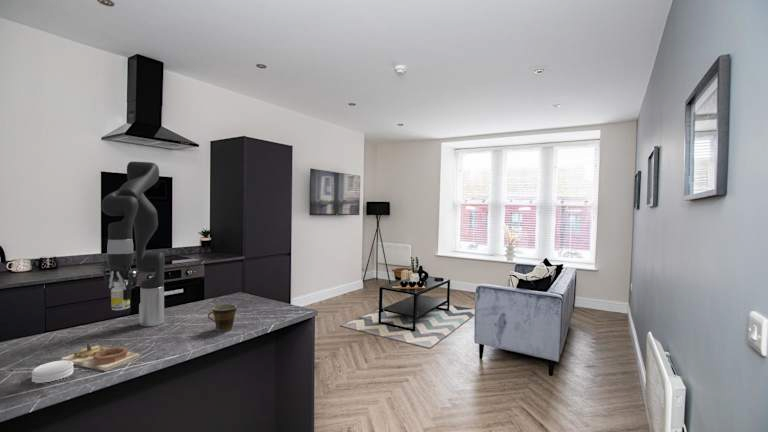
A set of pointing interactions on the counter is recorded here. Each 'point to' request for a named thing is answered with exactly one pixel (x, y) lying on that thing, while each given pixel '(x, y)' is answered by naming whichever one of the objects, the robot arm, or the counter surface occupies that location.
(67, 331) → the counter surface
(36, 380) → the coaster
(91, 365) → the gear board
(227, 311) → the ceramic cup
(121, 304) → the supplement bottle
